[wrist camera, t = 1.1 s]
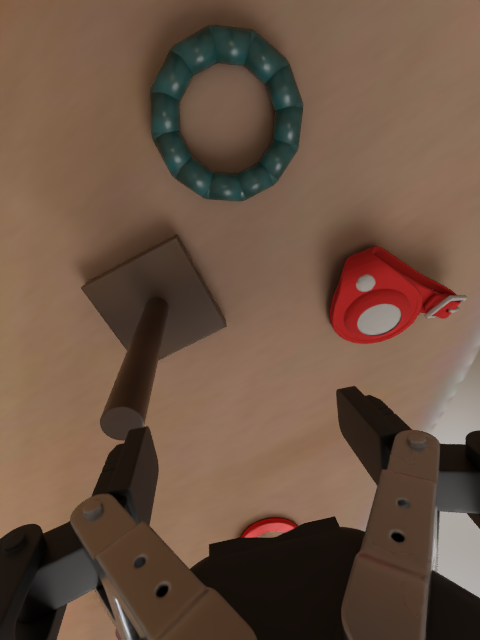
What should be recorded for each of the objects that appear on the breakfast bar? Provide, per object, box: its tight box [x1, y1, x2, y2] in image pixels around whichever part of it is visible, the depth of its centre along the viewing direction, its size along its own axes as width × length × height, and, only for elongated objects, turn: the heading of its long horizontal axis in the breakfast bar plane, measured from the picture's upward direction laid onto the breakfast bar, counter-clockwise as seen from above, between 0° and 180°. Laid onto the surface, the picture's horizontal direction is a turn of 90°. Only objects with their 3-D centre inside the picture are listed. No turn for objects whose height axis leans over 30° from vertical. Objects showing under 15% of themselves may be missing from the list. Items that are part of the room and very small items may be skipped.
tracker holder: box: [329, 246, 467, 344], centre depth 32 cm, size 12×4×10 cm
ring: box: [150, 25, 303, 201], centre depth 25 cm, size 11×11×2 cm
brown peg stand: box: [81, 235, 226, 440], centre depth 24 cm, size 9×9×16 cm
